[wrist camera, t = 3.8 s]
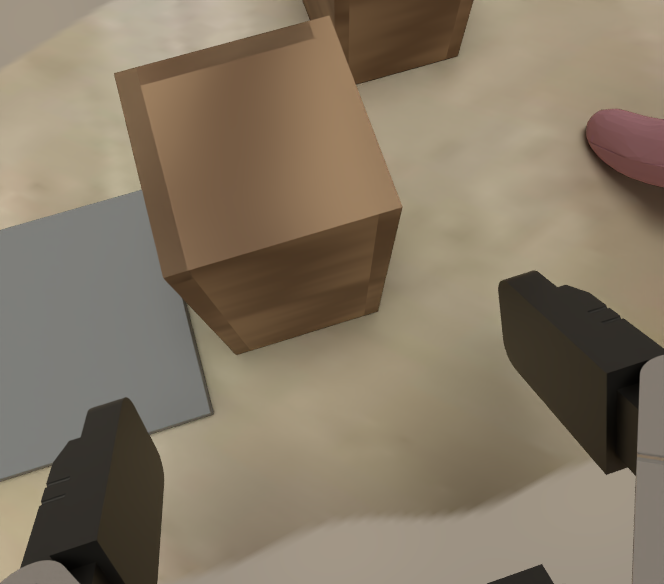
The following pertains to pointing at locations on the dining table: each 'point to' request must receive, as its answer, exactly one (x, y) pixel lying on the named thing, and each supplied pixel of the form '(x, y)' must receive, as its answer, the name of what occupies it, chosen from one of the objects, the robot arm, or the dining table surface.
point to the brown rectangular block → (263, 183)
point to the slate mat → (89, 331)
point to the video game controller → (629, 143)
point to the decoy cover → (394, 32)
